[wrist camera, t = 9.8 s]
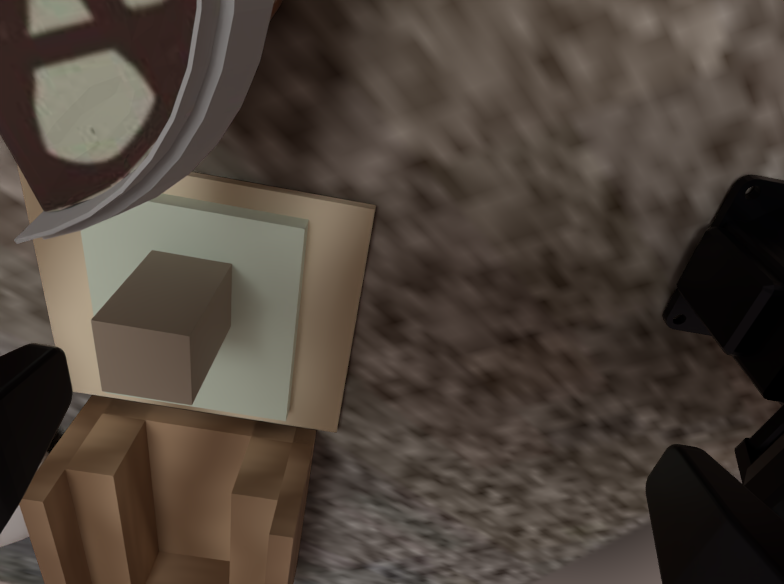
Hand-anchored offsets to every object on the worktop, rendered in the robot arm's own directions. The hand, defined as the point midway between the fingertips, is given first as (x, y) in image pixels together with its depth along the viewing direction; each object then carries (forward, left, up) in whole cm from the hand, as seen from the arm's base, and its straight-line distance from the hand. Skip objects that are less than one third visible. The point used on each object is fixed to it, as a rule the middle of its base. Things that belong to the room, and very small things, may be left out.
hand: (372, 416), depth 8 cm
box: (+7, +21, -13) cm, 26 cm away
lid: (+7, +8, -13) cm, 17 cm away
